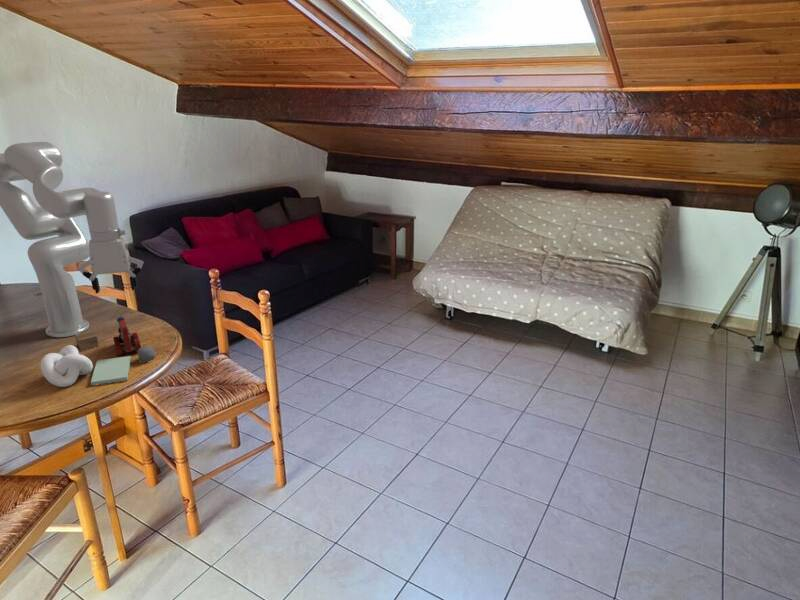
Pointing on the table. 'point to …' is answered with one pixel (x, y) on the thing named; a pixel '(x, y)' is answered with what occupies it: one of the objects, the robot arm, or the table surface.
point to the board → (111, 370)
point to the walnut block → (86, 340)
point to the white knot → (65, 366)
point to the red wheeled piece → (125, 338)
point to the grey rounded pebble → (146, 354)
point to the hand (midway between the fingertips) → (116, 290)
